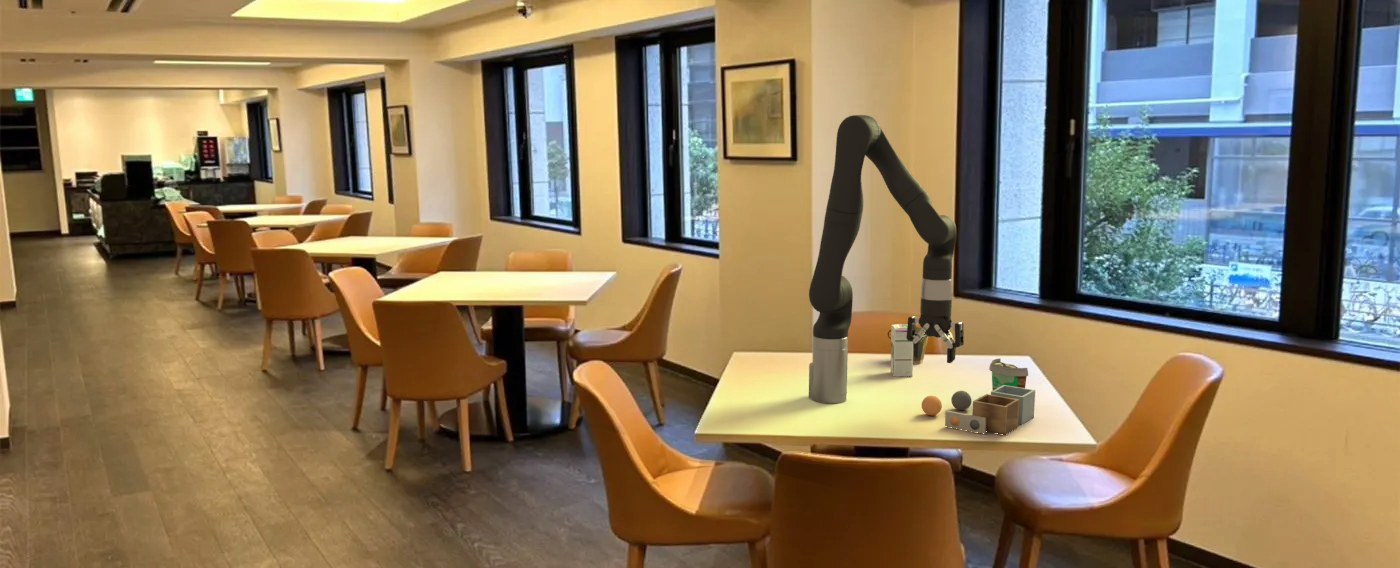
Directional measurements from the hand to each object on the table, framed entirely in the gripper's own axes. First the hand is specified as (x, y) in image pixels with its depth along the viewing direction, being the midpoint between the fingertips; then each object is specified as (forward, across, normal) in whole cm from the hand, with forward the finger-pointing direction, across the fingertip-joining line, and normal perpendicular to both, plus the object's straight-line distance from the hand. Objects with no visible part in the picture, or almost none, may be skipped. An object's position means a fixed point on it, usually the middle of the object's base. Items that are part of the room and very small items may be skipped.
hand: (933, 360), depth 254 cm
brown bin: (+14, +17, -1) cm, 22 cm away
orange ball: (+14, 0, 0) cm, 14 cm away
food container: (+14, +9, +24) cm, 29 cm away
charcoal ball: (+14, +4, +9) cm, 17 cm away
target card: (+14, +12, -7) cm, 20 cm away
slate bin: (+14, +17, +10) cm, 24 cm away
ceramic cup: (+14, -31, +49) cm, 59 cm away
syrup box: (+14, -25, +33) cm, 44 cm away
